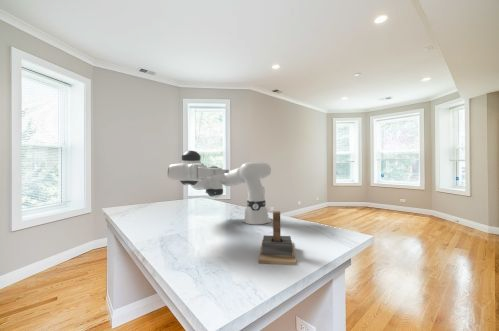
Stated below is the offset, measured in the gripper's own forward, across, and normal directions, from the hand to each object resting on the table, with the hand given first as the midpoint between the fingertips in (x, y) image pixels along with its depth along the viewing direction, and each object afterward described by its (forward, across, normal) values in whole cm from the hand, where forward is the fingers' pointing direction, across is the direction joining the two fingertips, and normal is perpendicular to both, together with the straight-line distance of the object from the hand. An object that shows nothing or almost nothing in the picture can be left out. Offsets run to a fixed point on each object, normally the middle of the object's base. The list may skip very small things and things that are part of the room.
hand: (226, 171), depth 113 cm
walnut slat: (+24, +12, -33) cm, 42 cm away
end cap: (+24, +12, -34) cm, 43 cm away
